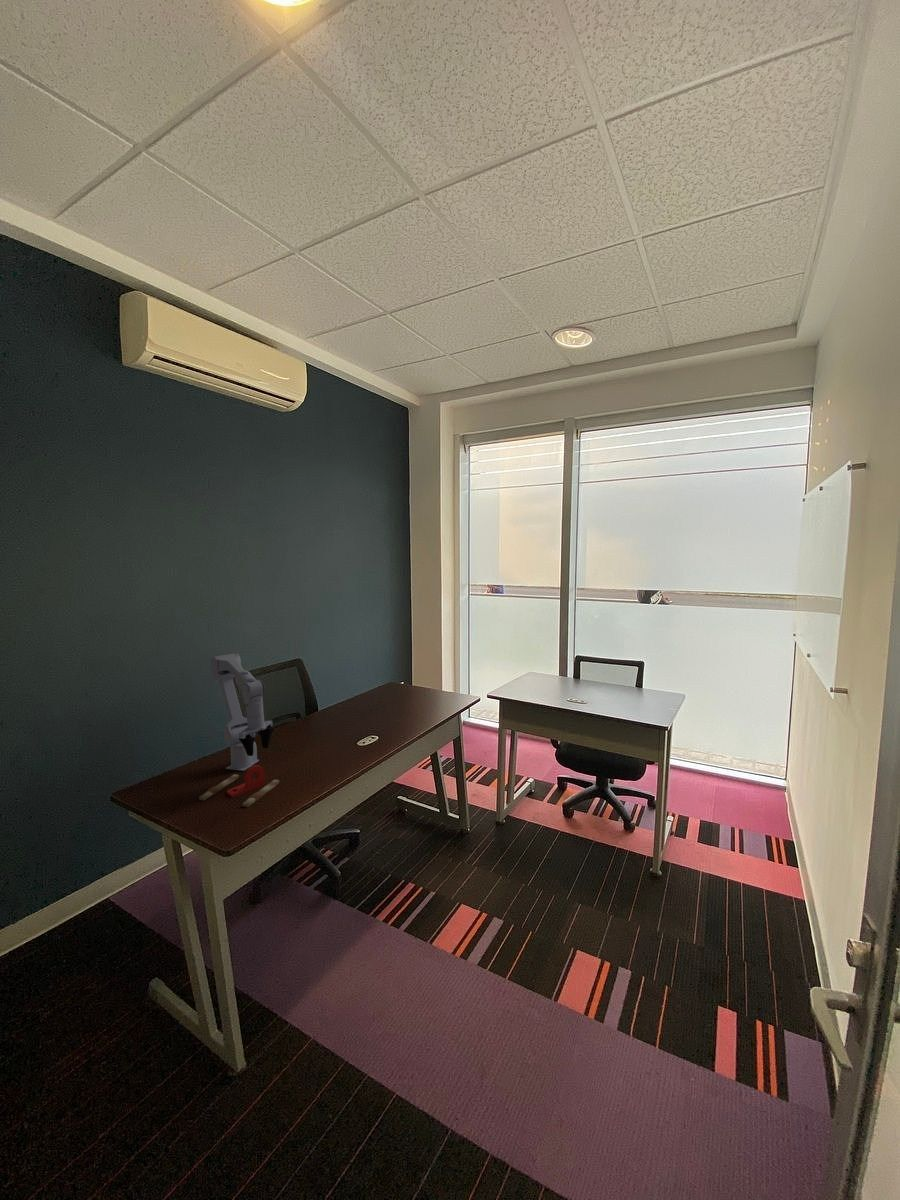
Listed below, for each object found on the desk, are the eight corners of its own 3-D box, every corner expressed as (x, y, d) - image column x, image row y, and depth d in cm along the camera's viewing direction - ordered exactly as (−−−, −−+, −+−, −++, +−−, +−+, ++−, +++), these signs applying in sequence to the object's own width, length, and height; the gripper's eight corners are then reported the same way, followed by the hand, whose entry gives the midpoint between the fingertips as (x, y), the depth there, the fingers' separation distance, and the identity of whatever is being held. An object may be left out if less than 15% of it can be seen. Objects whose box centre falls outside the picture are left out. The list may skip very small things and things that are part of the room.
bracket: (258, 780, 176) (257, 759, 175) (265, 784, 173) (264, 763, 172) (225, 793, 167) (224, 771, 166) (232, 798, 164) (231, 775, 163)
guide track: (233, 776, 179) (233, 773, 179) (279, 782, 174) (279, 779, 174) (198, 799, 163) (198, 796, 162) (248, 807, 157) (248, 803, 157)
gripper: (248, 721, 167) (251, 760, 168) (278, 709, 180) (280, 745, 181) (233, 720, 169) (236, 758, 170) (263, 708, 183) (265, 743, 184)
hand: (258, 751), depth 176 cm, fingers open, 7 cm apart
